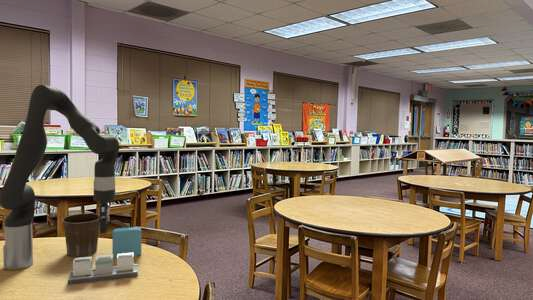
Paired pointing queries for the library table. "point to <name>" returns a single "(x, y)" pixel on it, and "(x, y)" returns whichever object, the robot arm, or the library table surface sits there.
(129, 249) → the data package
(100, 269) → the block
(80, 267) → the rail
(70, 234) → the plant pot
